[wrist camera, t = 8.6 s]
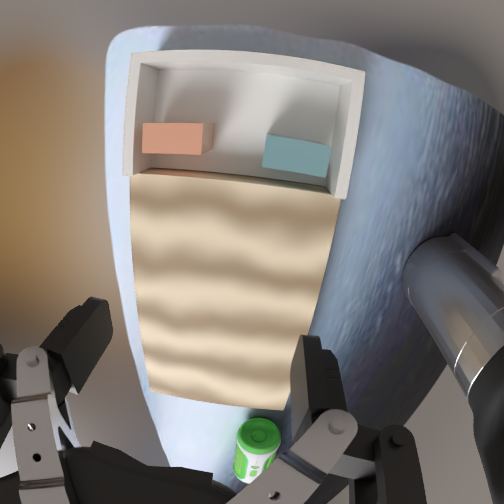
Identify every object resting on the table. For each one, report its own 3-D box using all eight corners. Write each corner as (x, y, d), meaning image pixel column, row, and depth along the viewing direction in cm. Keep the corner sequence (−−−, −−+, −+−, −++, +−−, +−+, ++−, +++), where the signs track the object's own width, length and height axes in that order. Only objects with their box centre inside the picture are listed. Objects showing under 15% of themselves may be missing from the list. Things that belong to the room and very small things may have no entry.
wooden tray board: (144, 167, 28) (129, 173, 25) (333, 187, 28) (341, 196, 25) (157, 374, 41) (150, 391, 37) (283, 392, 41) (283, 410, 37)
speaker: (238, 412, 44) (234, 449, 37) (282, 415, 44) (283, 453, 37) (234, 454, 51) (231, 484, 44) (269, 457, 51) (268, 487, 44)
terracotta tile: (162, 147, 27) (163, 122, 26) (212, 149, 26) (214, 123, 25) (141, 153, 22) (142, 123, 21) (201, 154, 22) (203, 123, 21)
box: (152, 62, 23) (131, 53, 19) (349, 79, 23) (365, 71, 19) (144, 166, 28) (122, 175, 23) (333, 186, 28) (345, 199, 23)
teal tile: (262, 159, 27) (266, 133, 26) (315, 168, 27) (320, 142, 26) (261, 166, 22) (266, 135, 21) (325, 177, 22) (331, 146, 21)
